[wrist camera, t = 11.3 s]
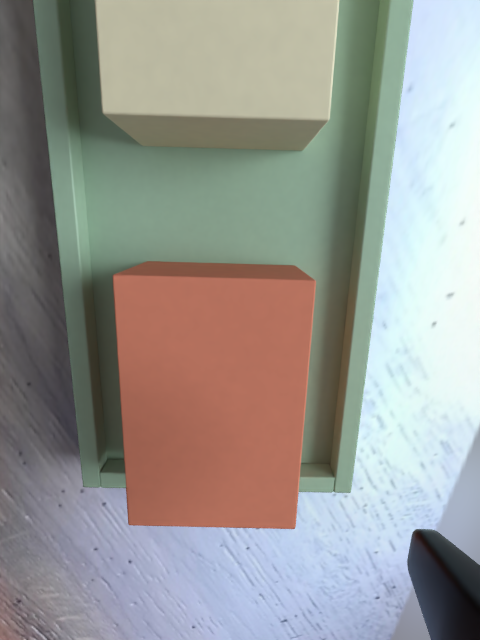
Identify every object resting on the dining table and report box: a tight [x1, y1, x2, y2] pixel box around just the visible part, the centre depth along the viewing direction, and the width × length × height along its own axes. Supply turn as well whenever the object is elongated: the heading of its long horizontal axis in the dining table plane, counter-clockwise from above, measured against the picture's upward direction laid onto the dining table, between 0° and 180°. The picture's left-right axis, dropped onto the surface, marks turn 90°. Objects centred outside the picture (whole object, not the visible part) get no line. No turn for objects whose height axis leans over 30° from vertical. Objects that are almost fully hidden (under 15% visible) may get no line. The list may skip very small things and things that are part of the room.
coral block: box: [113, 261, 316, 529], centre depth 14 cm, size 9×6×4 cm, turn 178°
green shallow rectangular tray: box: [33, 0, 413, 493], centre depth 12 cm, size 24×12×5 cm, turn 178°
